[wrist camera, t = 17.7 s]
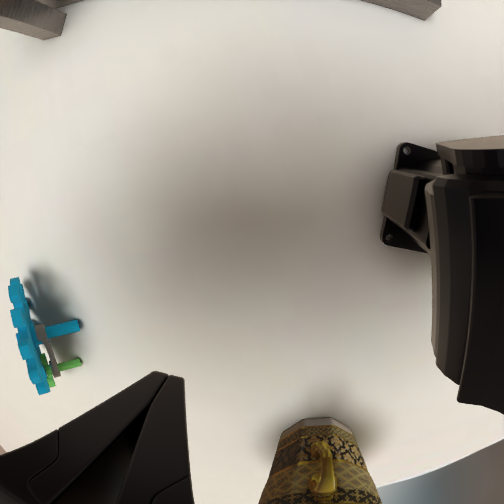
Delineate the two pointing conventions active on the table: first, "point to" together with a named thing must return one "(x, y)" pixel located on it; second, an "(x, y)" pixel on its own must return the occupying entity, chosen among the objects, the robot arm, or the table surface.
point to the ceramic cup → (319, 467)
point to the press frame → (52, 20)
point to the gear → (38, 341)
